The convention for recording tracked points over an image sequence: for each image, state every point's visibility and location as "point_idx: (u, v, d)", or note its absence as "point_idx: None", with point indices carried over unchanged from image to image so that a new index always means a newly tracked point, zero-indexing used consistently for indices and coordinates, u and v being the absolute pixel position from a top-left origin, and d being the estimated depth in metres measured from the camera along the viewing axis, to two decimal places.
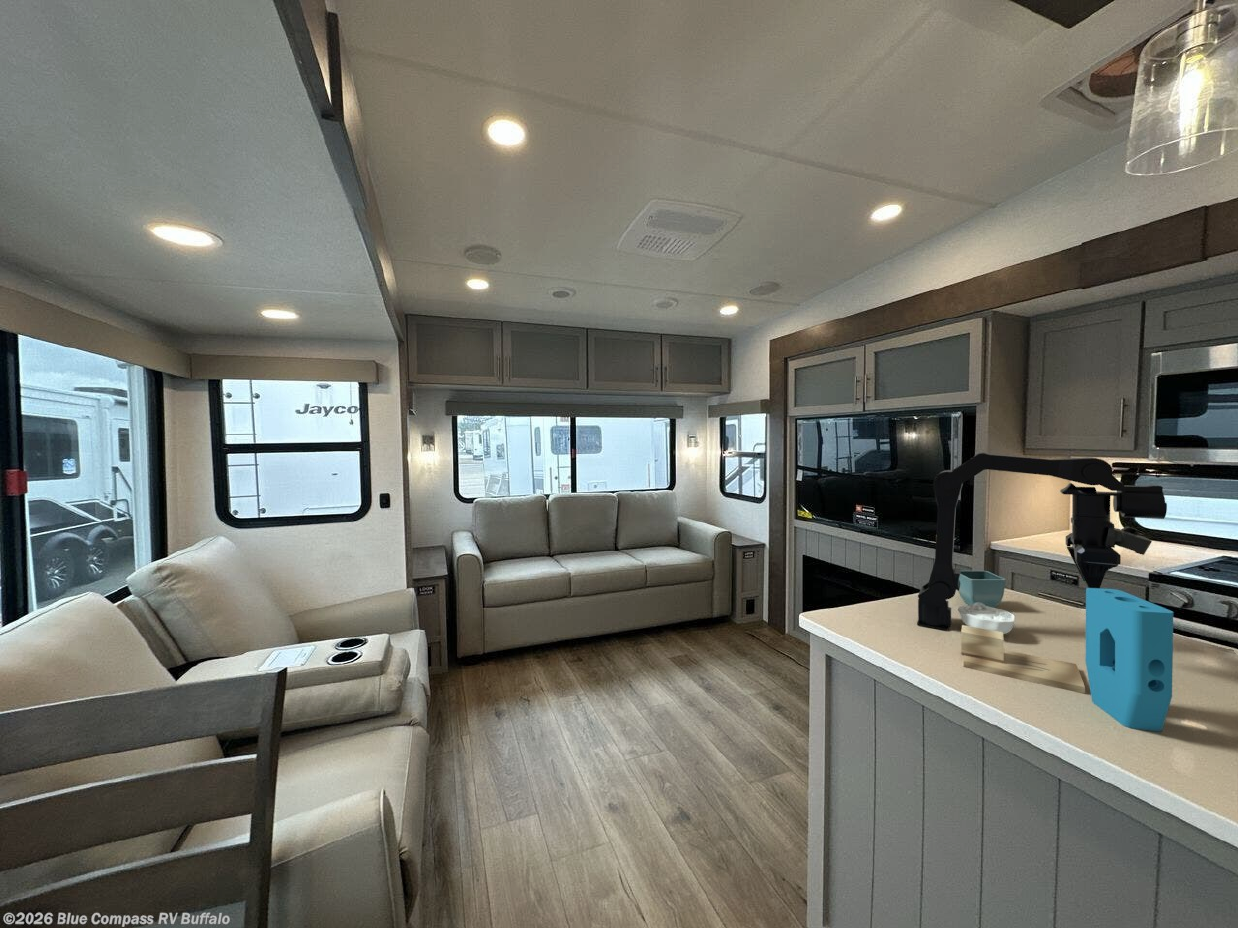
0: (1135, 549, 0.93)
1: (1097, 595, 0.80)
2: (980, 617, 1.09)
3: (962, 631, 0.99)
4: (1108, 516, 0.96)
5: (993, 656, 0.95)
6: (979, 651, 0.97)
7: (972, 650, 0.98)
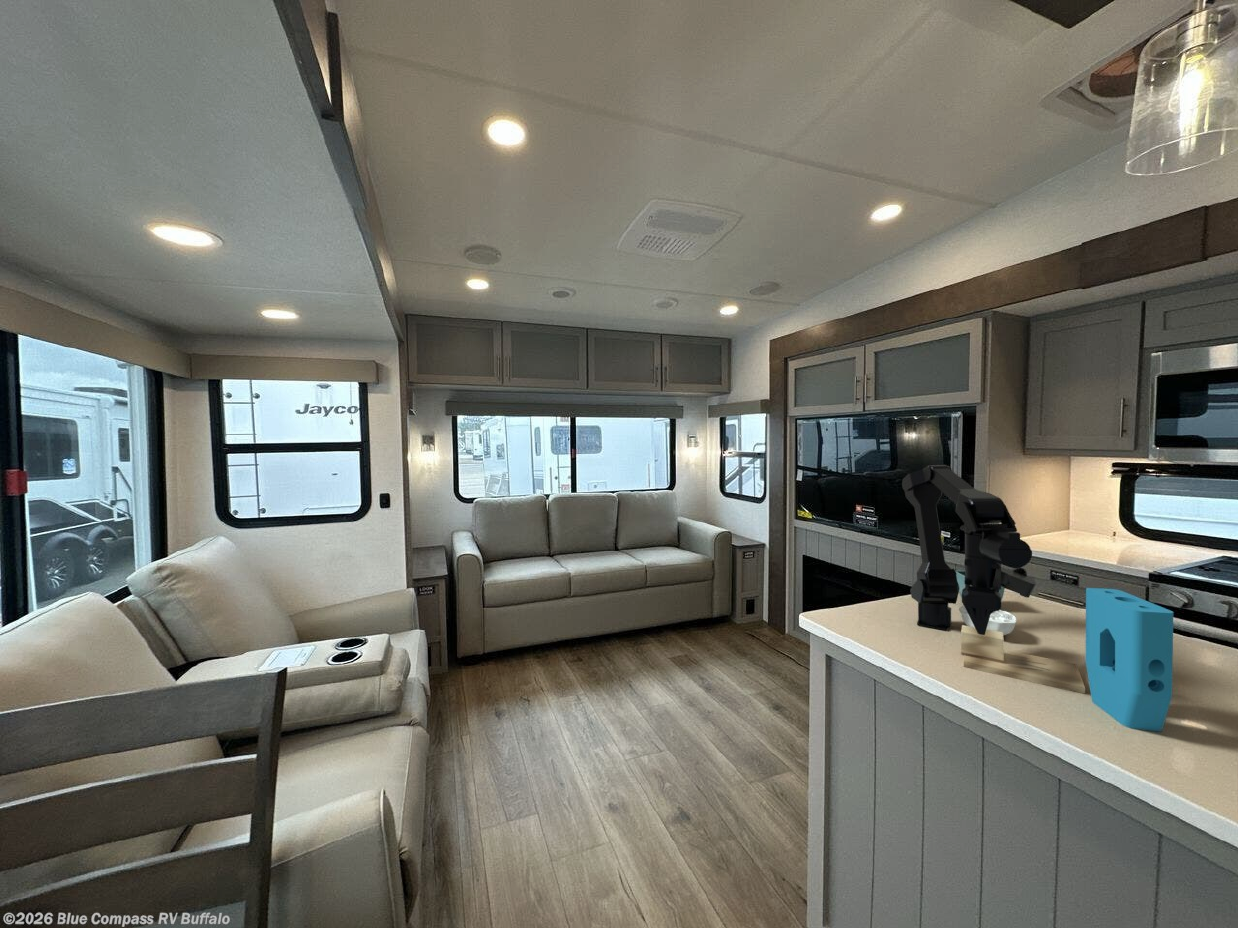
0: (1020, 592, 0.92)
1: (1097, 595, 0.80)
2: None
3: (962, 631, 0.99)
4: None
5: (993, 656, 0.95)
6: (979, 651, 0.97)
7: (972, 650, 0.98)
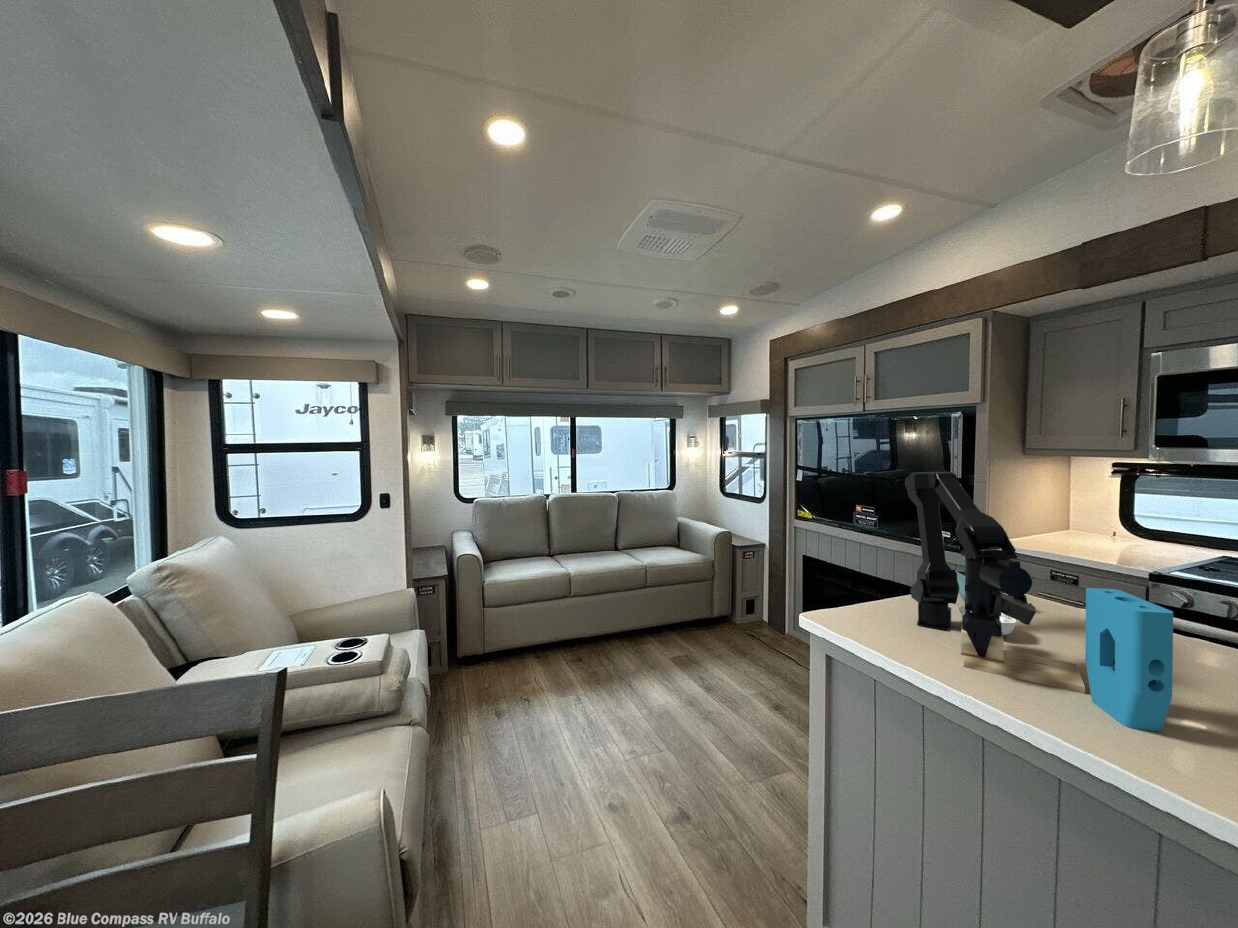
0: (1020, 619, 0.92)
1: (1097, 595, 0.80)
2: None
3: (962, 631, 0.99)
4: None
5: (993, 656, 0.95)
6: None
7: (972, 650, 0.98)
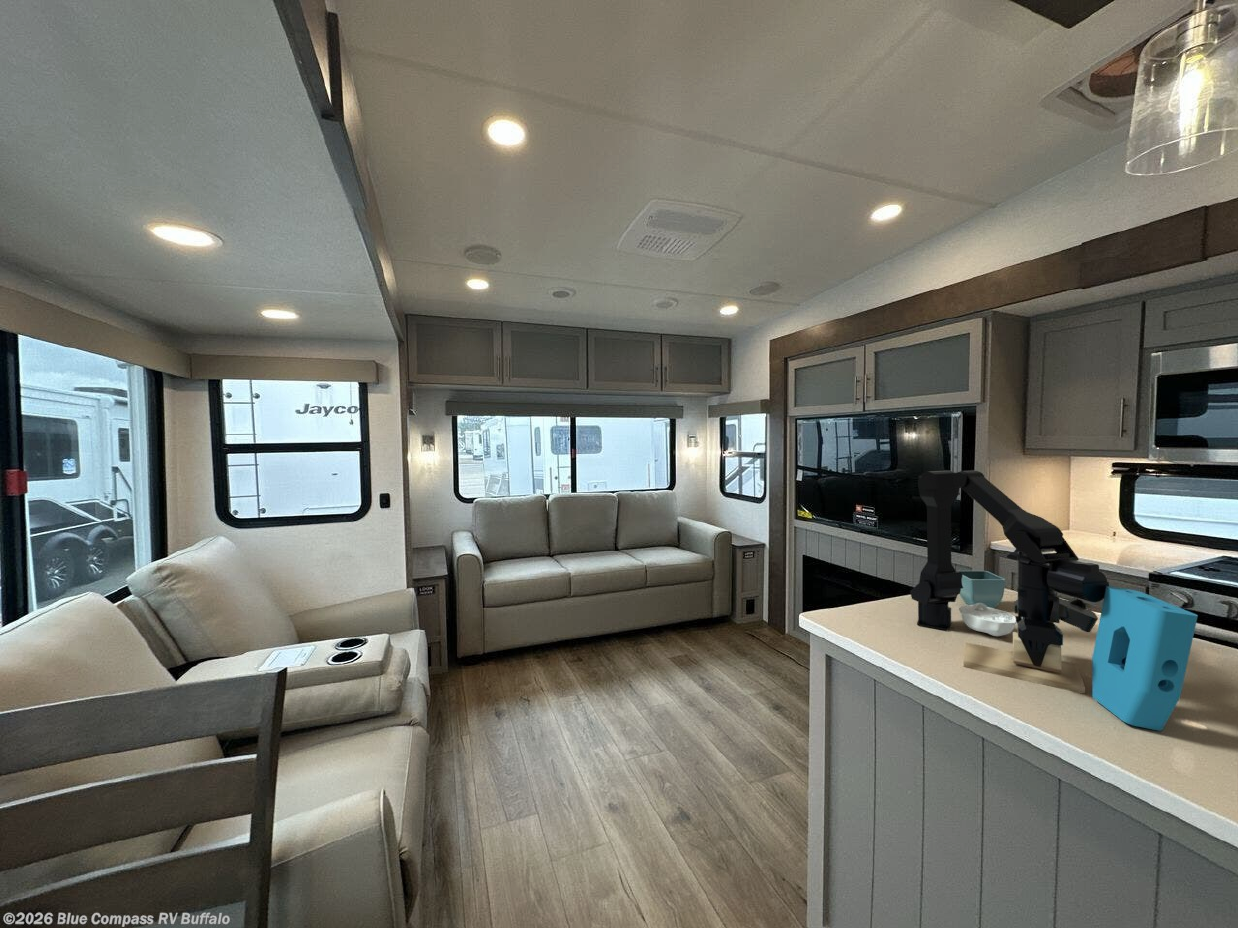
0: (1080, 626, 0.87)
1: (1118, 593, 0.79)
2: (981, 617, 1.09)
3: (1015, 638, 0.93)
4: None
5: (1050, 665, 0.90)
6: None
7: (1026, 659, 0.92)
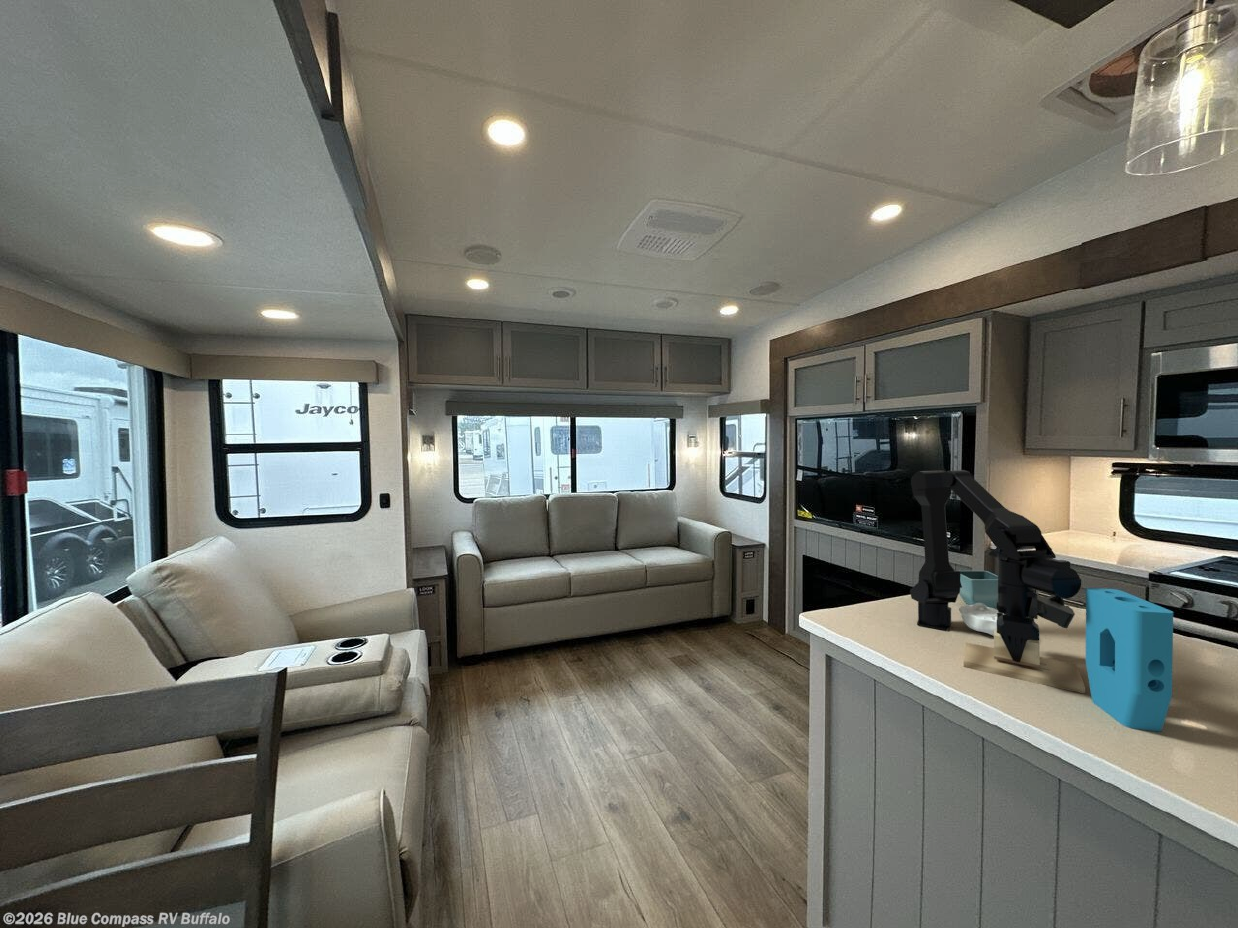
0: (1058, 622, 0.89)
1: (1097, 595, 0.80)
2: (981, 617, 1.09)
3: (995, 634, 0.95)
4: None
5: (1028, 660, 0.92)
6: None
7: (1006, 654, 0.94)
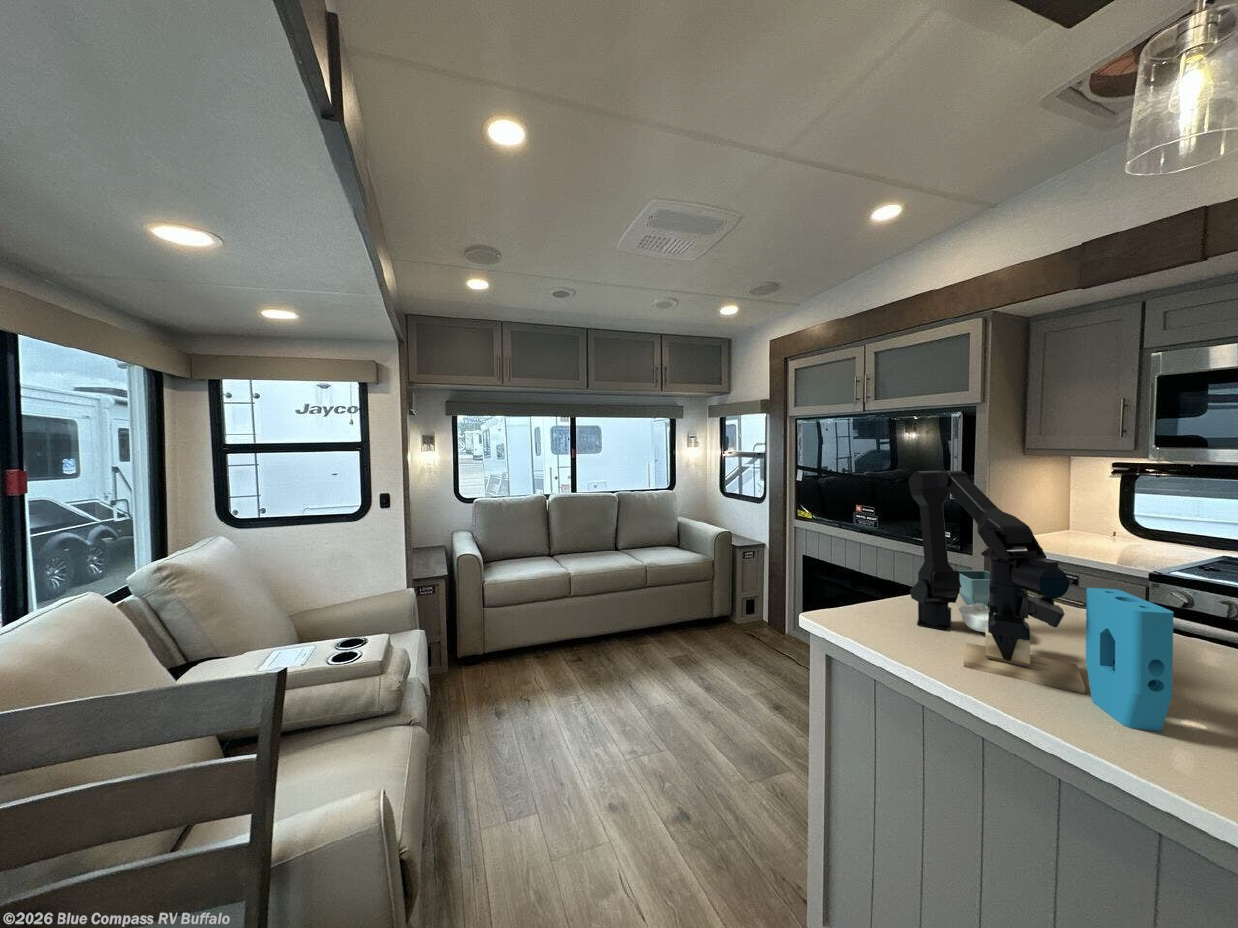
0: (1048, 621, 0.90)
1: (1097, 595, 0.80)
2: (981, 617, 1.09)
3: (986, 633, 0.96)
4: None
5: (1019, 659, 0.93)
6: None
7: (997, 653, 0.95)
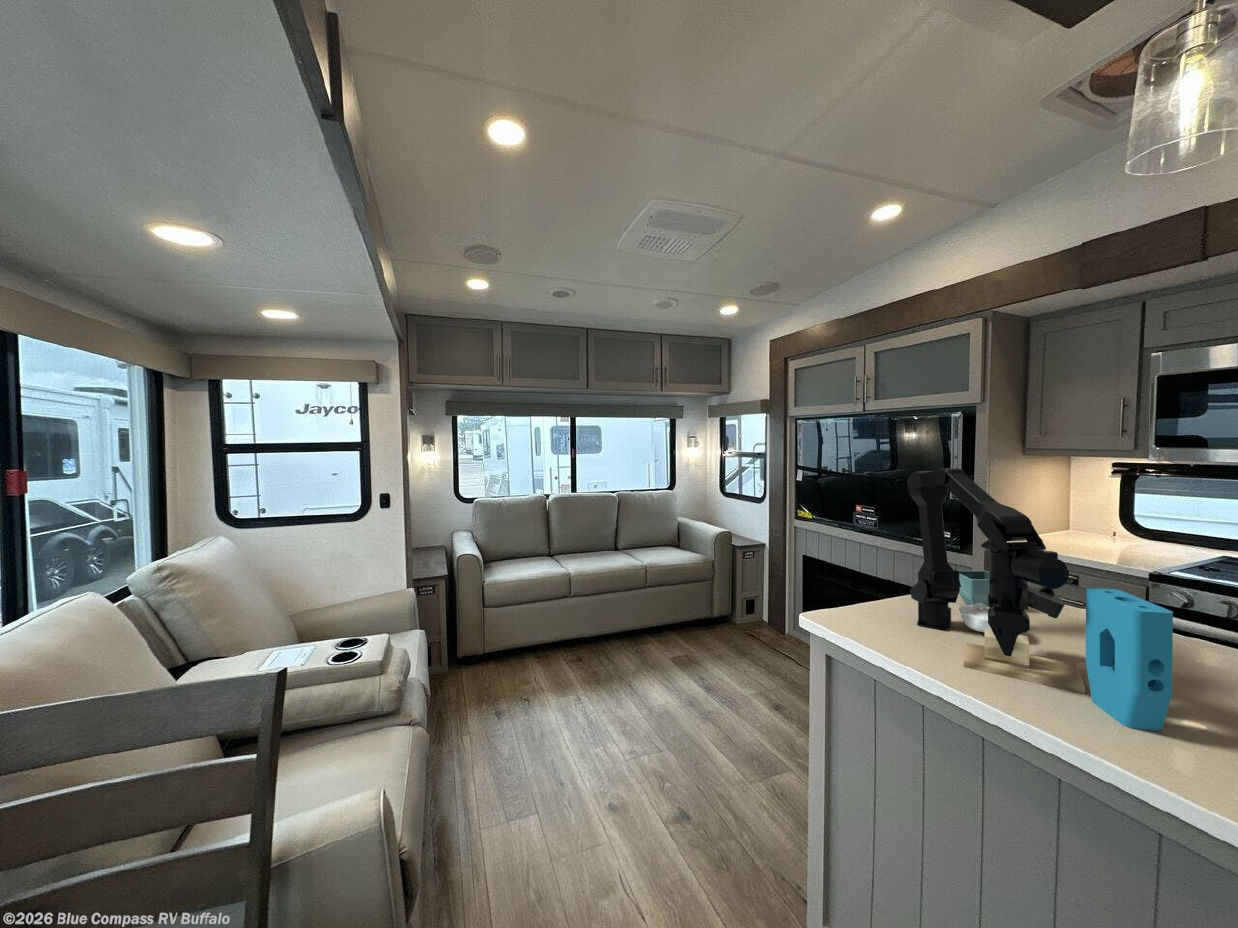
0: (1048, 612, 0.89)
1: (1097, 595, 0.80)
2: (981, 617, 1.09)
3: (985, 635, 0.96)
4: None
5: (1018, 661, 0.93)
6: (1003, 656, 0.94)
7: (996, 655, 0.95)
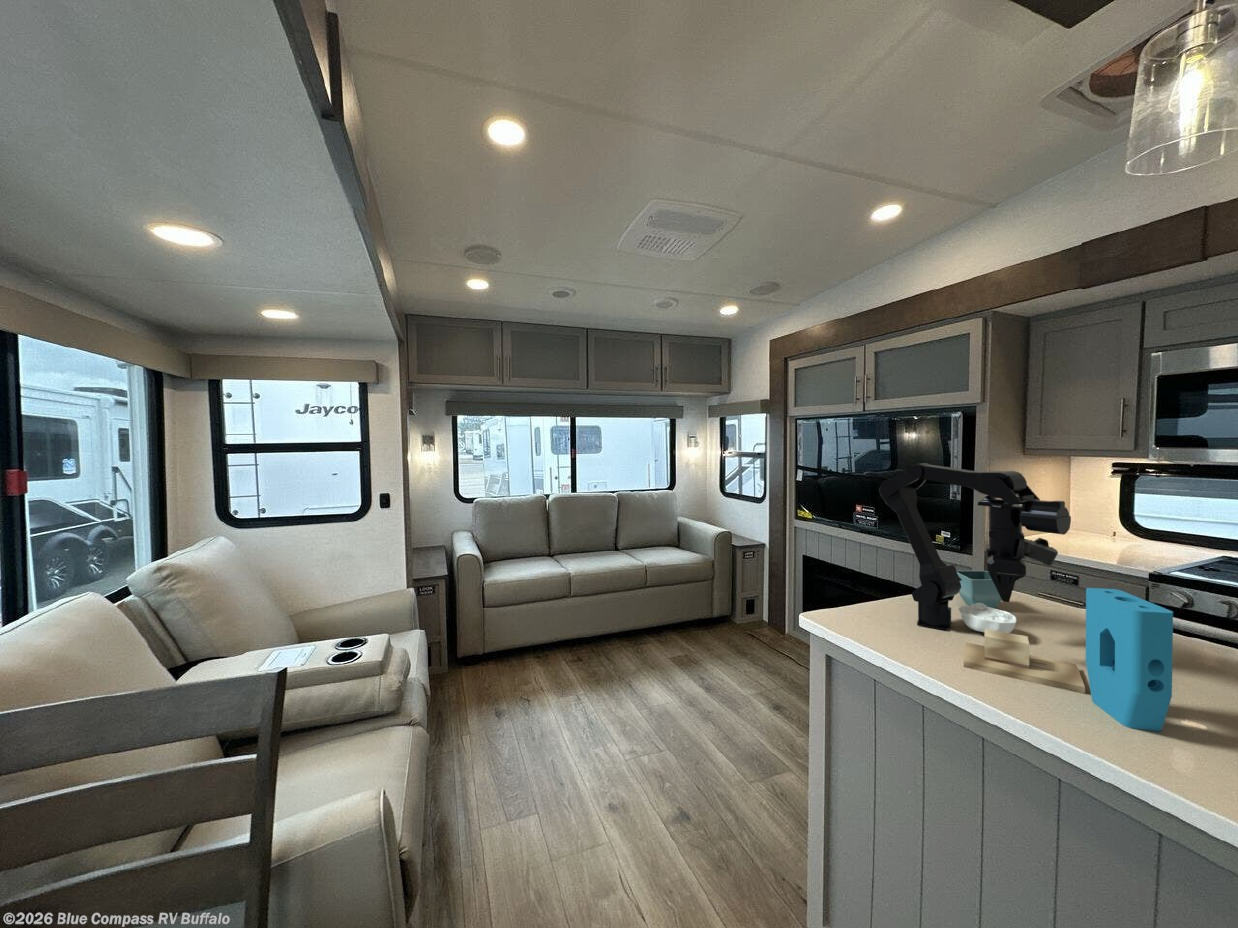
0: (1043, 560, 0.97)
1: (1097, 595, 0.80)
2: (981, 617, 1.09)
3: (985, 635, 0.96)
4: (1019, 528, 1.00)
5: (1018, 661, 0.93)
6: (1003, 656, 0.94)
7: (996, 655, 0.95)
